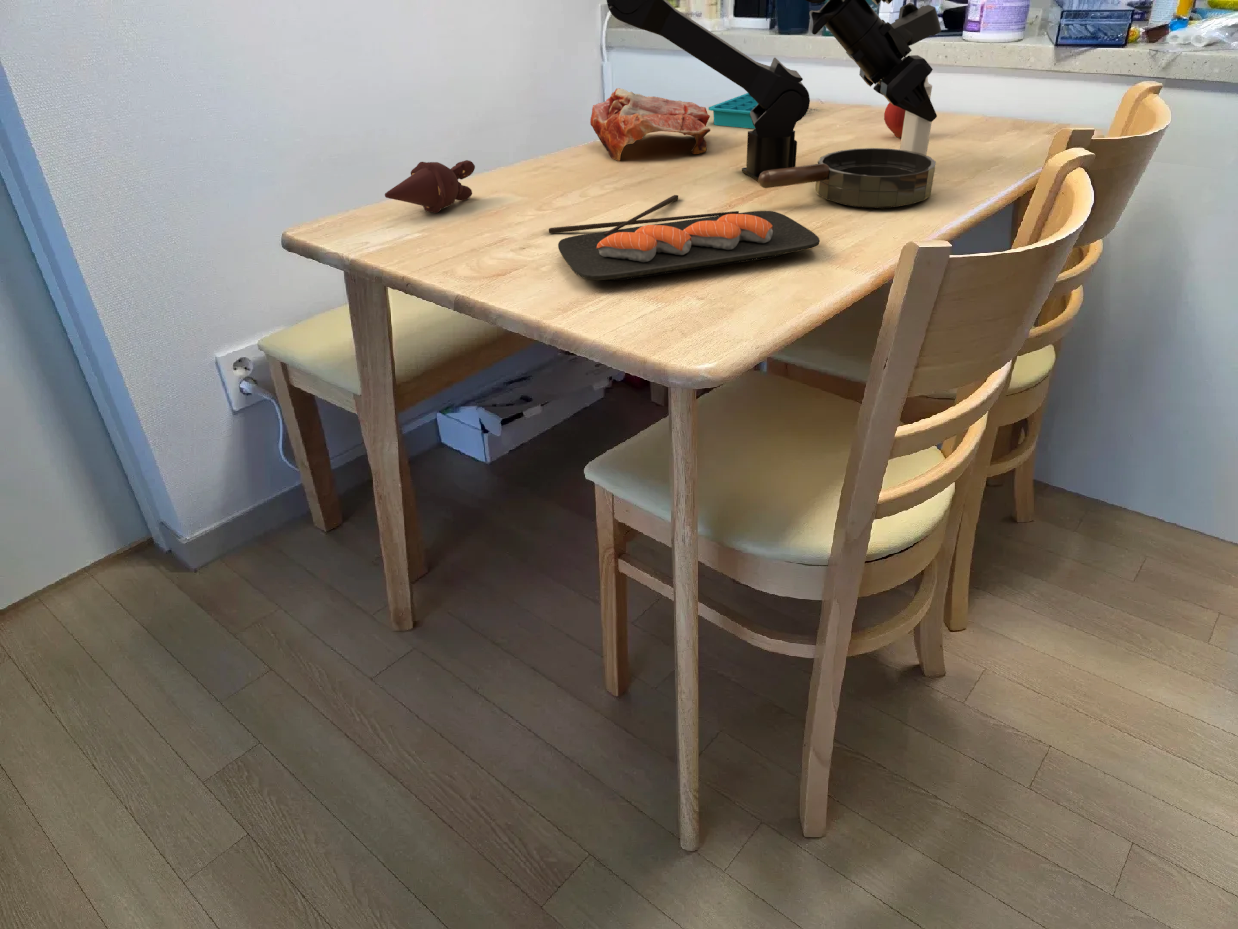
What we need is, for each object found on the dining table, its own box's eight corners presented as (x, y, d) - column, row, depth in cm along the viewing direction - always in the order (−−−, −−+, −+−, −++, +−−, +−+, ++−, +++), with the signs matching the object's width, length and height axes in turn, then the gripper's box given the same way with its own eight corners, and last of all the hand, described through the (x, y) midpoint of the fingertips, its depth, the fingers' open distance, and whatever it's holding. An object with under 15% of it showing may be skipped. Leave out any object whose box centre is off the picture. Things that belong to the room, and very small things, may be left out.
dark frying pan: (851, 217, 106) (855, 181, 103) (796, 187, 118) (799, 155, 116) (953, 202, 109) (959, 167, 107) (890, 175, 121) (894, 143, 119)
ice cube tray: (705, 125, 156) (705, 108, 154) (755, 105, 169) (755, 89, 168) (760, 130, 150) (761, 112, 148) (807, 109, 163) (809, 93, 162)
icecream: (403, 180, 106) (491, 166, 116) (369, 158, 109) (458, 146, 119) (401, 230, 111) (486, 212, 120) (368, 208, 114) (454, 192, 124)
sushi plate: (582, 296, 88) (579, 262, 86) (528, 217, 112) (525, 189, 110) (828, 259, 94) (832, 225, 92) (727, 191, 118) (727, 164, 116)
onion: (913, 133, 143) (920, 82, 139) (920, 140, 138) (928, 89, 134) (879, 133, 144) (885, 84, 139) (884, 141, 139) (891, 90, 134)
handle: (762, 190, 107) (763, 173, 106) (755, 186, 109) (755, 169, 108) (832, 181, 110) (834, 164, 108) (824, 177, 111) (826, 160, 110)
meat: (659, 128, 155) (658, 70, 150) (739, 145, 141) (741, 81, 135) (569, 148, 145) (564, 86, 140) (644, 168, 131) (642, 101, 125)
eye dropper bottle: (892, 165, 122) (904, 76, 115) (900, 156, 126) (913, 70, 119) (922, 168, 120) (937, 78, 113) (930, 159, 124) (944, 71, 117)
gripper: (928, -12, 102) (999, 81, 108) (892, -22, 118) (956, 60, 123) (856, 60, 107) (928, 146, 113) (831, 41, 123) (895, 118, 128)
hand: (928, 114), depth 119 cm, fingers closed on eye dropper bottle, 5 cm apart
